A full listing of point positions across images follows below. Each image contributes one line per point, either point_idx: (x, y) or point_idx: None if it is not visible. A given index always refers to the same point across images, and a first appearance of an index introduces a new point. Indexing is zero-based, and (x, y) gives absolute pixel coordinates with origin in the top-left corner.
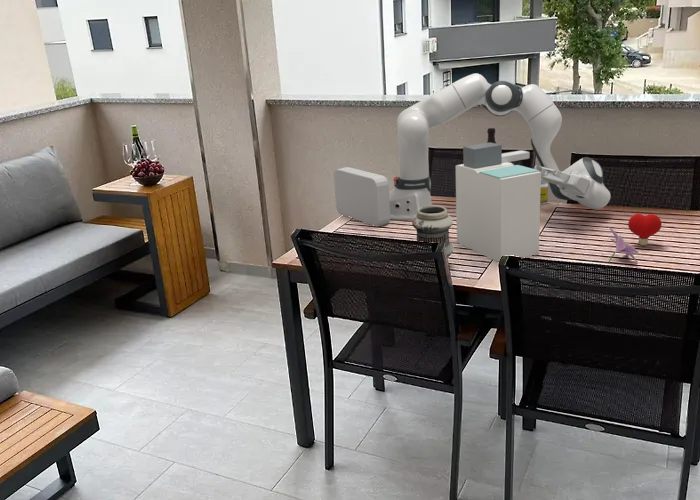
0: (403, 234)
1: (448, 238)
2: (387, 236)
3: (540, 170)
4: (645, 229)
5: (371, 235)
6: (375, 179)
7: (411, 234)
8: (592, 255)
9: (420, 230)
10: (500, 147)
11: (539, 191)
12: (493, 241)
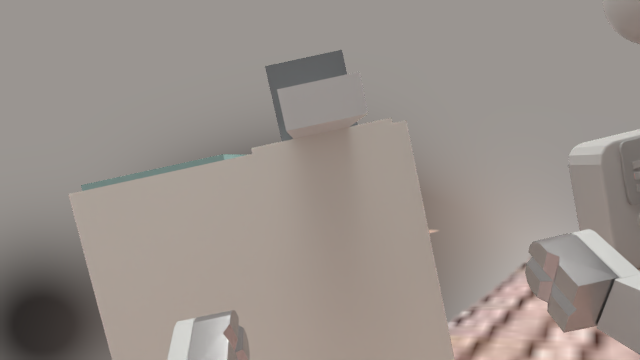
0: (524, 291)
1: None
2: (512, 277)
3: (565, 313)
4: None
5: (524, 263)
6: (577, 147)
7: (521, 300)
8: None
9: None
10: (267, 76)
11: (92, 272)
12: None
